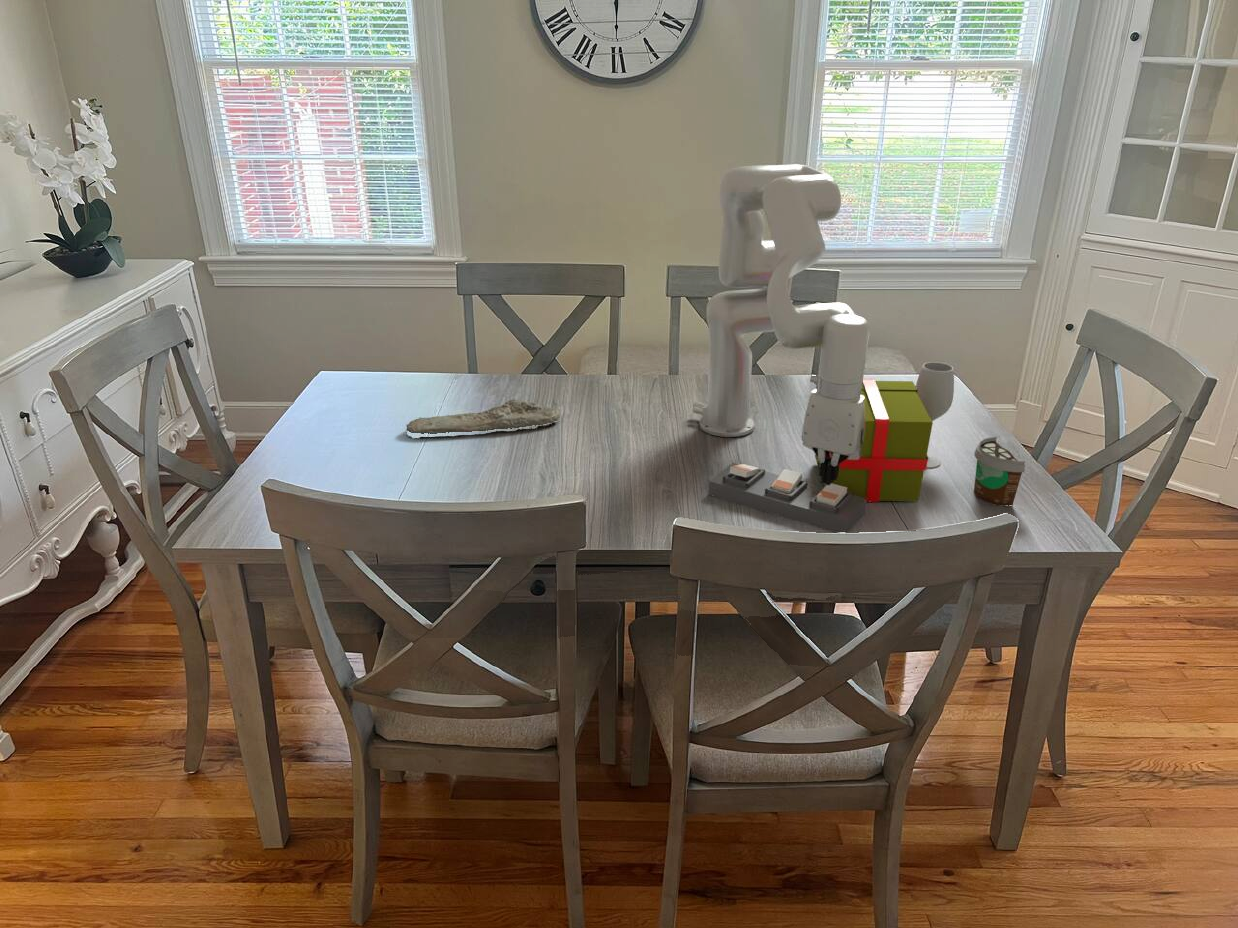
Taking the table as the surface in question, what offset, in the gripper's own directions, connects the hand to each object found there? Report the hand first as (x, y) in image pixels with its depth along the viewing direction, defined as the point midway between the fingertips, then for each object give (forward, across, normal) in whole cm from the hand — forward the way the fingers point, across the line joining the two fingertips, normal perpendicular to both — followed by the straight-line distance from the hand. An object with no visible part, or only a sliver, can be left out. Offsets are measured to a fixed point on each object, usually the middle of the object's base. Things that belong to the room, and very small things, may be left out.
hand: (827, 481), depth 160 cm
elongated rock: (+10, -82, -3) cm, 82 cm away
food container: (+8, +22, +27) cm, 36 cm away
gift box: (+9, 0, +21) cm, 23 cm away
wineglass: (+9, +7, +36) cm, 38 cm away
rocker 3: (+4, 0, +2) cm, 4 cm away
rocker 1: (+4, -18, +2) cm, 18 cm away
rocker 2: (+4, -9, +2) cm, 10 cm away
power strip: (+8, -9, +2) cm, 12 cm away
